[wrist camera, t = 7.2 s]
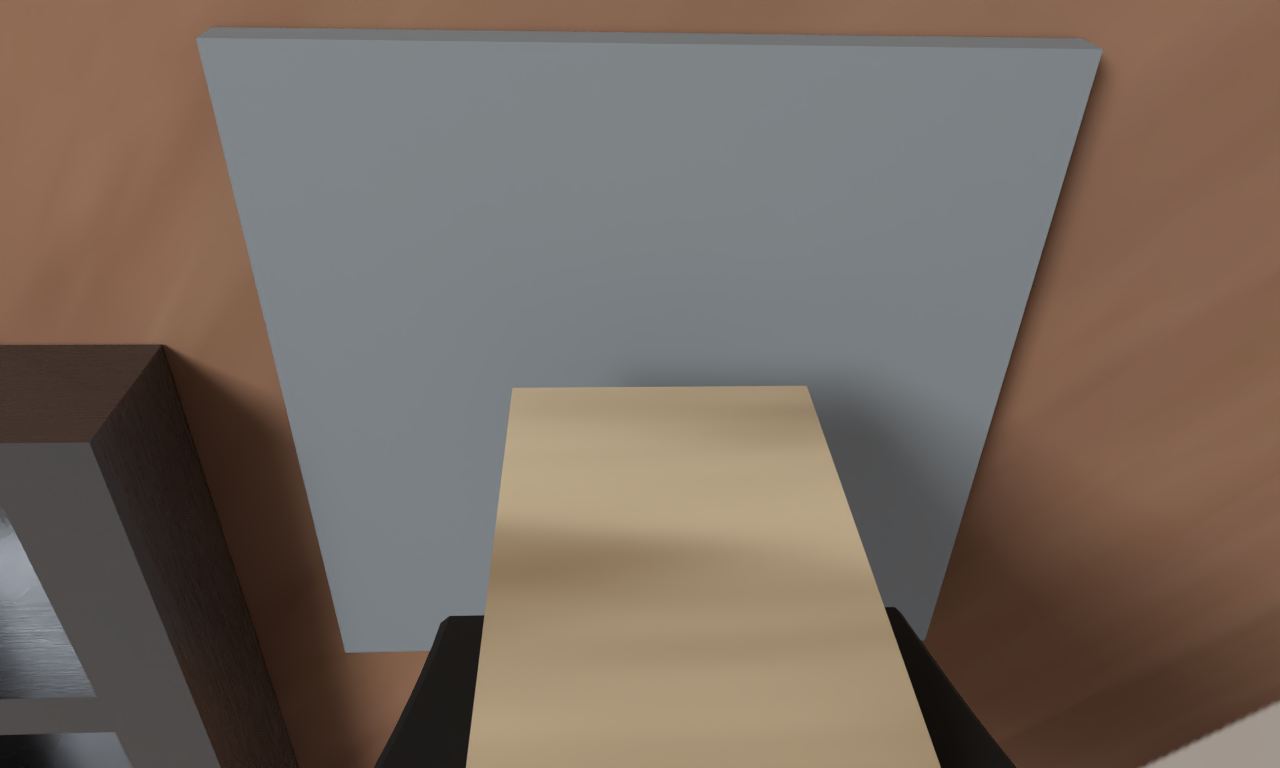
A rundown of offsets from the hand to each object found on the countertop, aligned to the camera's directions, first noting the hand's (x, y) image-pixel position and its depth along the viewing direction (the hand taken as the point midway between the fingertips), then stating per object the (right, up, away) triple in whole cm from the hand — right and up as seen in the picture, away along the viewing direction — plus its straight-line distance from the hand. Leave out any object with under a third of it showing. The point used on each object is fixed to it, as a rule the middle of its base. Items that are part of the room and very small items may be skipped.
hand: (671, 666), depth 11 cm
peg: (0, +2, +2) cm, 3 cm away
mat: (0, +3, +5) cm, 6 cm away
